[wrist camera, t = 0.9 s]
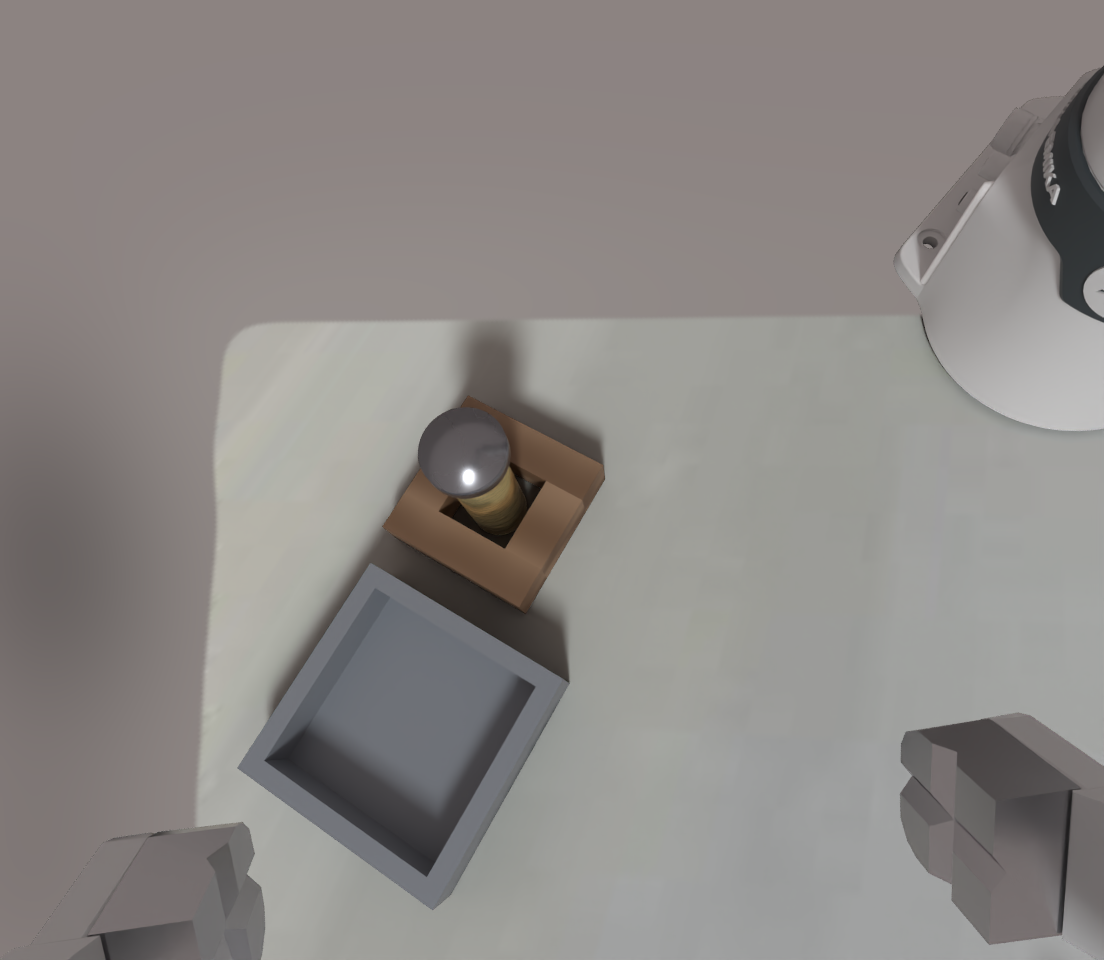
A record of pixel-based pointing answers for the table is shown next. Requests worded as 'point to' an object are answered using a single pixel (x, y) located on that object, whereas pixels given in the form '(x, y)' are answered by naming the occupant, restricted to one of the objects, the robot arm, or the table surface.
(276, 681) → the table surface
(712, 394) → the table surface
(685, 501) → the table surface
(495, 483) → the lock pin
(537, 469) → the socket block
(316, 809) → the pin tray
